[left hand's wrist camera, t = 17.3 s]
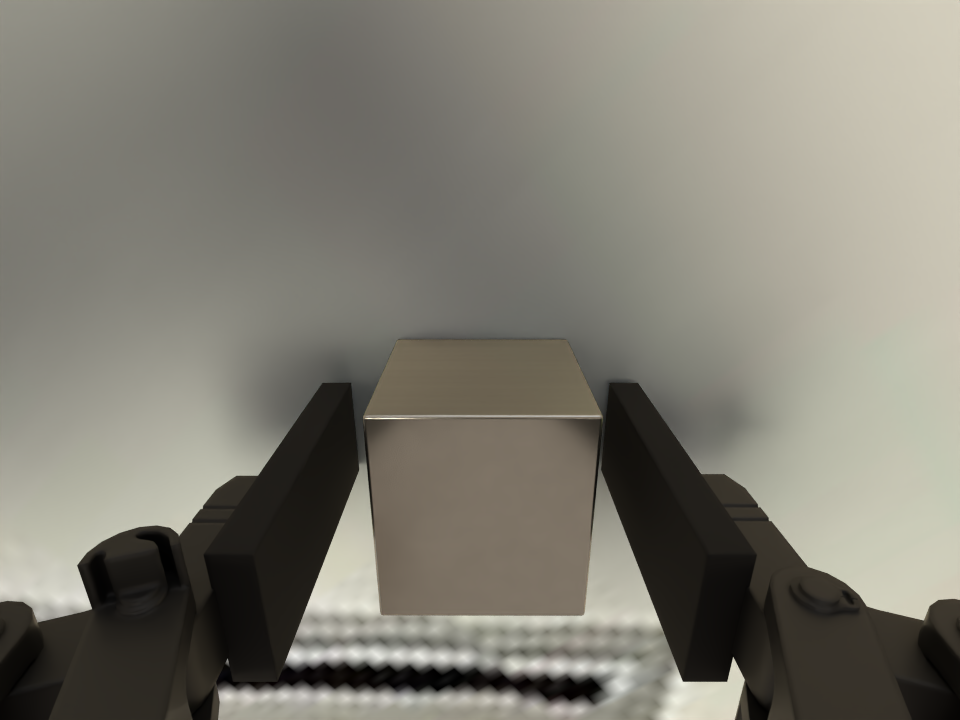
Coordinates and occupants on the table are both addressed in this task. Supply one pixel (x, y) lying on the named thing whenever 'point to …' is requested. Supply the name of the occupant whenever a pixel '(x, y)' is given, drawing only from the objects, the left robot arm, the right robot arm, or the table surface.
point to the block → (482, 477)
